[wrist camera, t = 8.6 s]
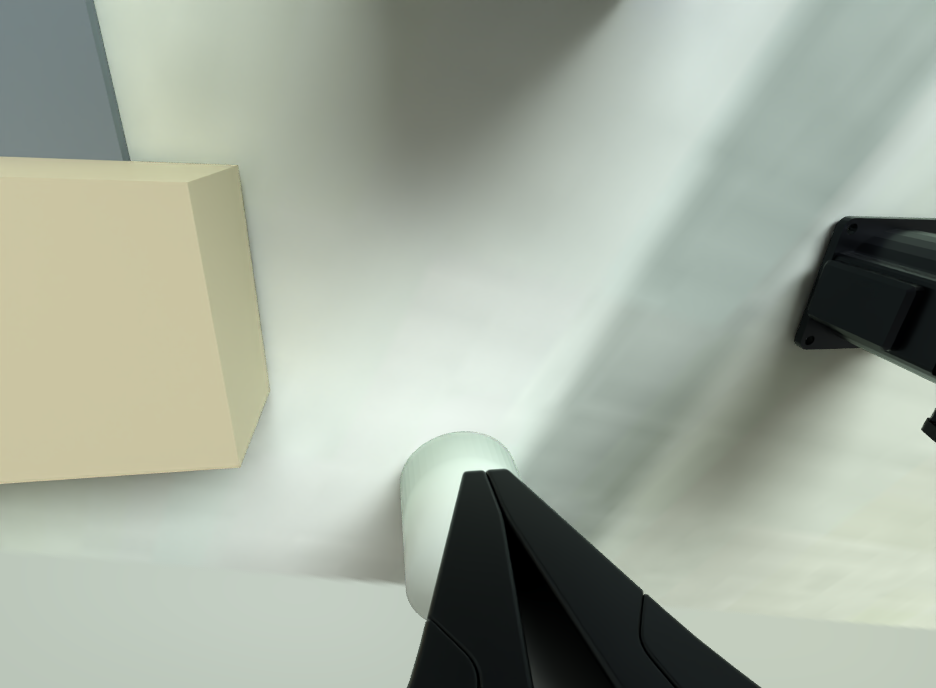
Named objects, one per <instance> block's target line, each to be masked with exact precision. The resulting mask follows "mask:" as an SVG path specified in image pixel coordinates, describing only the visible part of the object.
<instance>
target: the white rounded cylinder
mask: <svg viewBox="0 0 936 688" xmlns="http://www.w3.org/2000/svg"><path fill="white" fill-rule="evenodd" d="M503 468H504V469H508V470H509V471H511V472H512V473H513V474H514V475H515V476H516V477H517V478H518V479H520V480H521V478H520V475H519V473H518V470H517V468H516V465H515V463H514V460H513V458H512V456H511V454H510V452H509V451H508V449H507V448H506V447H505V446H504V445H503V444H502V443H501V442H499V441H498V440H496V439H494V438H493V437H491V436H488V435H485V434H482V433H478V432H470V431H461V432H453V433H448V434H444V435H441V436H438V437H436V438H434V439H432V440H430V441H428V442H426V443H425V444H423V445H422V446H421V447H419V448H418V449H417V450H416V451H415V452H414V453H413V454H412V455H411V456H410V458H409V459H408V460H407V462H406V464H405V466H404V468H403V470H402V474H401V478H400V492H401V510H402V528H403V545H404V563H405V581H406V593H407V597H408V600H409V602H410V604H411V606H412V607H413V609H414V610H415V611H416V612H417V613H418V614H419V615H420V616H421V617H423V618H424V619H426V620H427V616H428V612H429V608H430V604H431V600H432V596H433V592H434V587H435V583H436V579H437V575H438V571H439V567H440V563H441V559H442V555H443V551H444V547H445V543H446V539H447V535H448V531H449V527H450V523H451V519H452V515H453V511H454V507H455V503H456V499H457V495H458V491H459V487H460V483H461V479H462V475H463V473H464V472H465V471H474V470H483V471H485V472H486V471H487V470H489V469H503Z"/></svg>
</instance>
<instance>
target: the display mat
mask: <svg viewBox="0 0 936 688" xmlns="http://www.w3.org/2000/svg"><path fill="white" fill-rule="evenodd" d="M0 156H2V157H30V158H57V159H84V160H112V161H130V158H129V154H128V149H127V145H126V141H125V136H124V132H123V128H122V123H121V119H120V114H119V110H118V106H117V101H116V97H115V93H114V88H113V84H112V80H111V75H110V71H109V67H108V62H107V58H106V53H105V49H104V45H103V40H102V36H101V32H100V27H99V23H98V19H97V14H96V10H95V6H94V1H93V0H0Z"/></svg>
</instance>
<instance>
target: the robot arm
mask: <svg viewBox="0 0 936 688" xmlns="http://www.w3.org/2000/svg"><path fill="white" fill-rule="evenodd" d="M849 226H850V227H849ZM848 227H849V229H848ZM847 229H848V230H847ZM794 342H795V344H796V345H797V346H799V347H801V348H803V349H806V350H808V349H840V348H862V349H864V350H866V351H868V352H870V353H873V354H875V355H877V356H879V357H881V358H883V359H885V360H887V361H889V362H891V363H894V364H896V365H898V366H900V367H902V368H904V369H906V370H908V371H910V372H912V373H915V374H917V375H919V376H921V377H923V378H925V379H927V380H929V381H931V382H933V383H936V218H903V217H863V216H847V217H844V218H842V219H841V220H840V221H839V222H838V223H837V225H836V227H835V229H834V232H833V235H832V238H831V240H830V243H829V246H828V249H827V251H826V254H825V257H824V259H823V262H822V265H821V268H820V270H819V273H818V276H817V278H816V281H815V284H814V287H813V289H812V292H811V295H810V298H809V300H808V303H807V306H806V308H805V311H804V314H803V317H802V319H801V322H800V325H799V328H798V330H797V333H796V336H795V340H794ZM921 430H922V431H923V432H924V433H925V434H926V435H928V436H929V437H930V438H931V439H932V440H933V441H935V442H936V408H935V410H934V412H933V414H932V416H931V418H927V419H926V421H925V423H924V425H923V427H922V428H921ZM407 688H761V687H760V686H758V685H757V684H756V683H754V682H753V681H751V680H750V679H749V678H748V677H746V676H745V675H744V674H743V673H741V672H740V671H739V670H737V669H736V668H734V667H733V666H732V665H731V664H730V663H728V662H727V661H726V660H725V659H723V658H722V657H721V656H719V655H718V654H717V653H715V652H714V651H713V650H712V649H711V648H709V647H708V646H707V645H705V644H704V643H703V642H702V641H701V640H699V639H698V638H697V637H696V636H694V635H693V634H692V633H691V632H690V631H688V630H687V629H686V628H685V627H684V626H683V625H682V624H680V623H679V622H678V621H677V620H676V619H675V618H673V617H672V616H671V615H670V614H669V613H668V612H666V611H665V610H664V609H663V608H662V607H661V606H660V605H659V604H658V603H656V602H655V601H654V600H653V599H652V598H651V597H650V596H649V595H647V594H644V595H643V590H642V589H641V588H640V587H638V586H637V585H636V584H635V583H634V582H633V581H632V580H631V579H630V578H628V577H627V576H626V575H625V574H624V573H623V572H622V571H621V570H620V569H618V568H617V567H616V566H615V565H614V564H613V563H612V562H611V561H610V560H608V559H607V558H606V557H605V556H604V555H603V554H602V553H601V552H600V551H598V550H597V549H596V548H595V547H594V546H593V545H592V544H591V543H590V542H588V541H587V540H586V539H585V538H584V537H583V536H582V535H581V534H580V533H578V532H577V531H576V530H575V529H574V528H573V527H572V526H571V525H570V524H568V523H567V522H566V521H565V520H564V519H563V518H562V517H561V516H560V515H558V514H557V513H556V512H555V511H554V510H553V509H552V508H551V507H550V506H548V505H547V504H546V503H545V502H544V501H543V500H542V499H541V498H540V497H538V496H537V495H536V494H535V493H534V492H533V491H532V490H531V489H530V488H528V487H527V486H526V485H525V484H524V483H523V482H522V481H521V480H520V479H518V478H517V477H516V476H515V475H514V474H513V473H512V472H511V471H509V470H508V469H504V468H503V469H489V470H487V471H486V472H485V471H483V470H474V471H465V472H464V473H463V475H462V479H461V483H460V487H459V491H458V495H457V499H456V503H455V507H454V511H453V515H452V519H451V523H450V527H449V531H448V535H447V539H446V543H445V547H444V551H443V555H442V559H441V563H440V567H439V571H438V575H437V579H436V583H435V587H434V592H433V596H432V600H431V604H430V608H429V612H428V616H427V621H426V623H425V627H424V631H423V635H422V639H421V643H420V647H419V650H418V654H417V657H416V661H415V664H414V668H413V671H412V675H411V678H410V681H409V684H408V686H407Z"/></svg>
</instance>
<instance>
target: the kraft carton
mask: <svg viewBox="0 0 936 688" xmlns="http://www.w3.org/2000/svg"><path fill="white" fill-rule="evenodd" d="M269 392H270V388H269V381H268V374H267V367H266V360H265V353H264V346H263V339H262V332H261V324H260V317H259V310H258V303H257V296H256V289H255V282H254V275H253V268H252V261H251V254H250V247H249V240H248V233H247V226H246V218H245V211H244V204H243V197H242V190H241V183H240V176H239V169H238V165H221V164H194V163H167V162H139V161H112V160H84V159H57V158H30V157H2V156H0V484H6V483H21V482H35V481H50V480H65V479H79V478H94V477H109V476H123V475H138V474H153V473H167V472H182V471H196V470H211V469H226V468H240V467H241V464H242V462H243V459H244V456H245V454H246V451H247V449H248V446H249V444H250V441H251V438H252V436H253V433H254V431H255V428H256V425H257V423H258V420H259V418H260V415H261V413H262V410H263V407H264V405H265V402H266V400H267V397H268V394H269Z"/></svg>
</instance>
